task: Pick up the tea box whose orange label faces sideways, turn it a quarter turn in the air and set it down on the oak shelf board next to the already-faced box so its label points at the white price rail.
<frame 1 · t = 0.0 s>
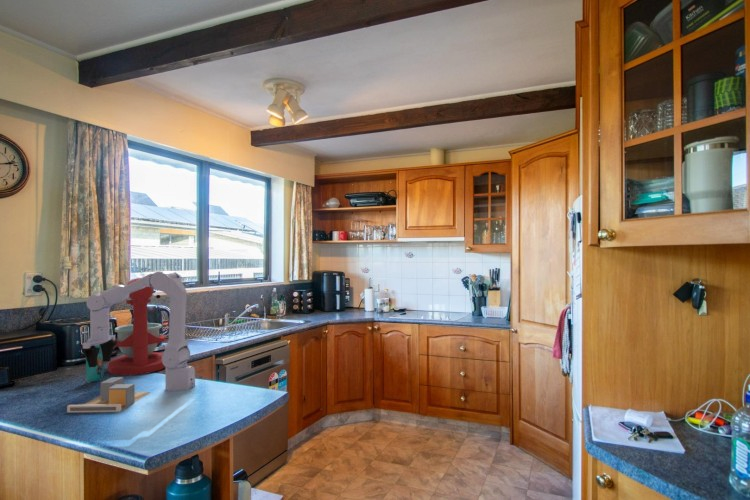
hand: (99, 364, 147), 10 cm above the worktop, fingers open, 7 cm apart
shelf board: (112, 405, 133), on the worktop
faced box: (121, 404, 130), point 1 cm above the worktop, touching shelf board
beverage can: (94, 382, 159), on the worktop
price rail: (94, 411, 124), resting on shelf board
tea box: (112, 397, 137), point 1 cm above the worktop, touching shelf board
stand mixer: (139, 367, 181), on the worktop
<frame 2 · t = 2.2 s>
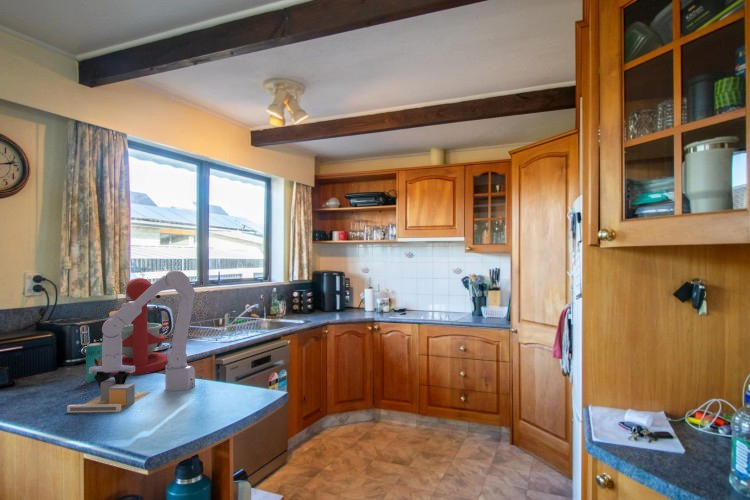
hand: (112, 393, 137), 2 cm above the worktop, fingers closed on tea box, 4 cm apart
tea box: (112, 397, 137), point 1 cm above the worktop, touching gripper
everything else where it was.
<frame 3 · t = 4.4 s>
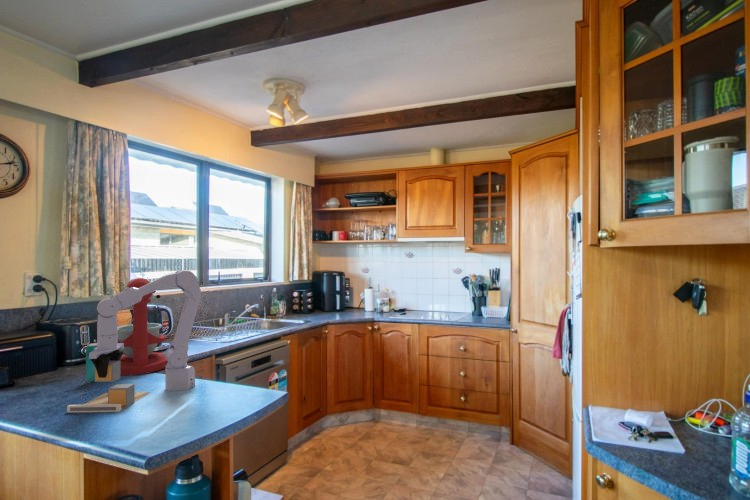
hand: (107, 375, 135), 9 cm above the worktop, fingers closed on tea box, 4 cm apart
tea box: (107, 380, 135), point 8 cm above the worktop, touching gripper
everything else where it was.
when the fingers open (4 cm above the worktop, at t = 6.5 s): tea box drops 1 cm, resting on shelf board.
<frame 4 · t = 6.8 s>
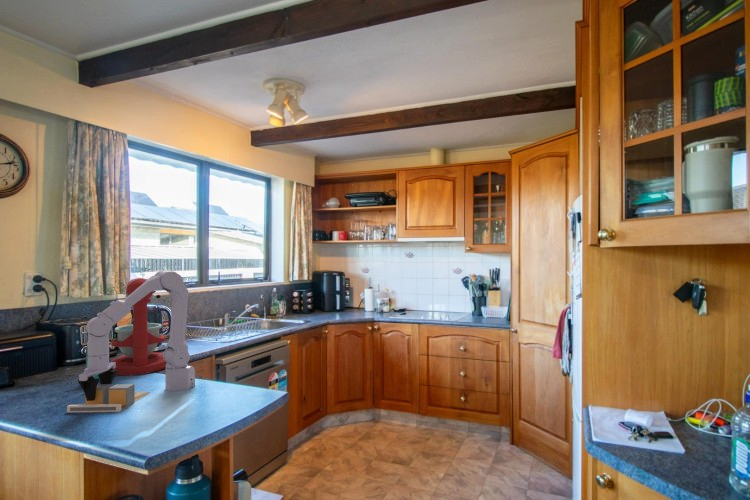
hand: (98, 396, 130), 4 cm above the worktop, fingers open, 6 cm apart
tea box: (98, 404, 130), point 1 cm above the worktop, touching shelf board
everything else where it was.
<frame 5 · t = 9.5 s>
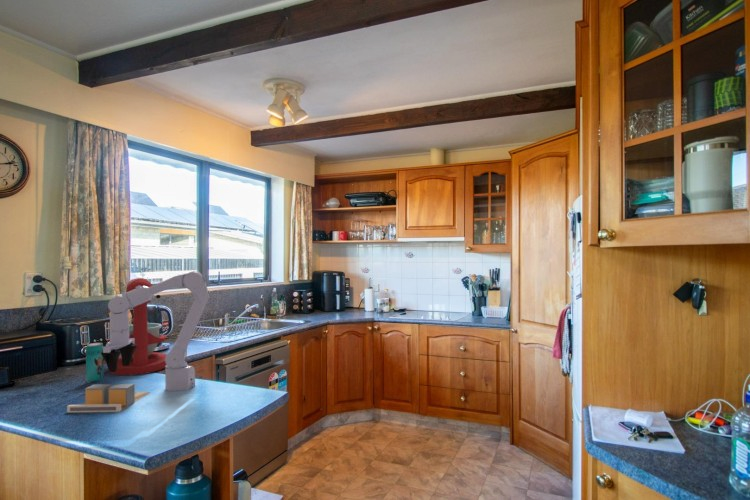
hand: (119, 368, 141), 10 cm above the worktop, fingers open, 7 cm apart
nothing on the worktop moved.
at the end: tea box 0.6 cm from the target spot, point 1.2 cm above the worktop; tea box tilted 0°; the gripper is holding nothing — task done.
